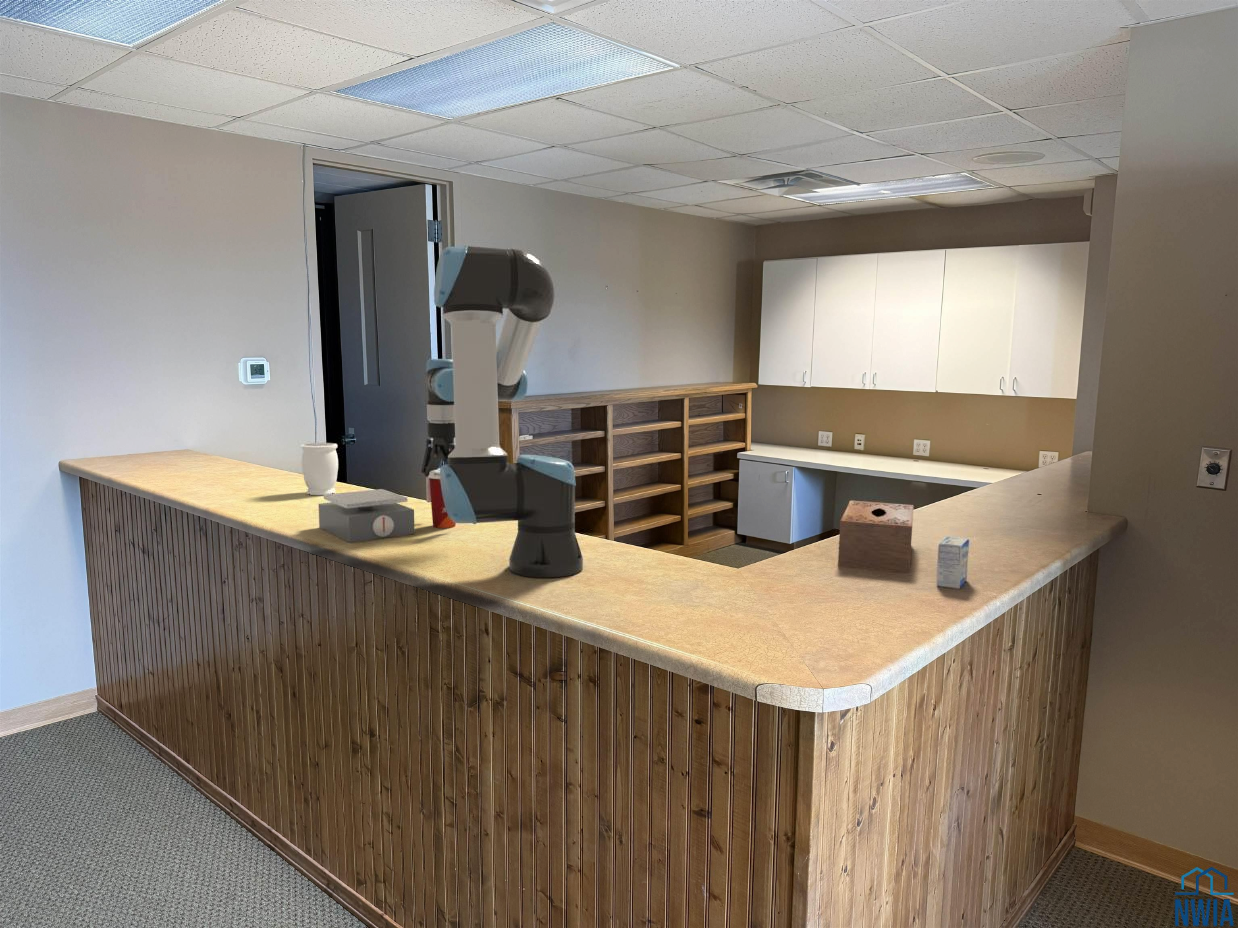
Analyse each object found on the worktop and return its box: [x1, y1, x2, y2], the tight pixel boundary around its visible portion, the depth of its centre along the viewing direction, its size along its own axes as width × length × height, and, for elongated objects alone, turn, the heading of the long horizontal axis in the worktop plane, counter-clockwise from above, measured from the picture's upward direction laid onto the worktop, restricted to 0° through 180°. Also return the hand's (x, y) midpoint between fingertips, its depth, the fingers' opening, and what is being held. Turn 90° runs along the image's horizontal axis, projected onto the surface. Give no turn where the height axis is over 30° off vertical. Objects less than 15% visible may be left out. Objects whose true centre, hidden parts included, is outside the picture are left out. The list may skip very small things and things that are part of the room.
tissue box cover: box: [837, 500, 914, 573], centre depth 188 cm, size 26×14×10 cm, turn 160°
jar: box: [300, 442, 339, 496], centre depth 254 cm, size 11×10×15 cm
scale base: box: [318, 501, 416, 544], centre depth 205 cm, size 21×16×6 cm
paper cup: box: [428, 469, 457, 529], centre depth 211 cm, size 8×8×14 cm
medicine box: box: [935, 536, 970, 590], centre depth 166 cm, size 8×4×9 cm, turn 148°
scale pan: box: [323, 488, 409, 508], centre depth 204 cm, size 15×15×2 cm
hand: (444, 505), depth 211 cm, fingers open, 13 cm apart
